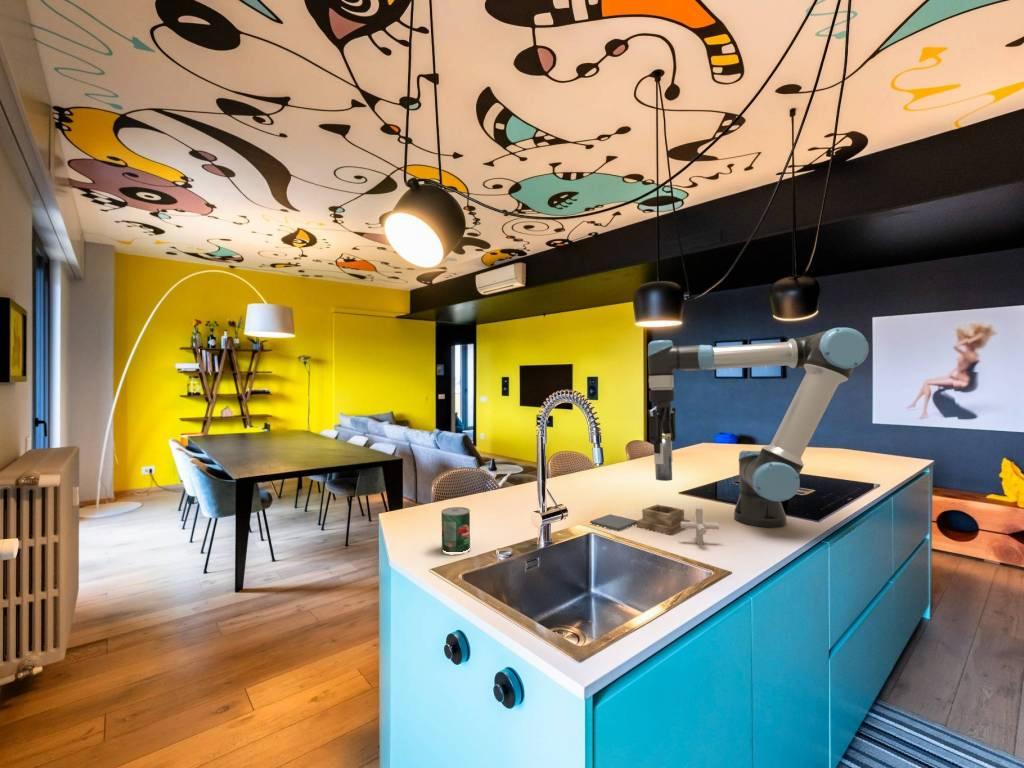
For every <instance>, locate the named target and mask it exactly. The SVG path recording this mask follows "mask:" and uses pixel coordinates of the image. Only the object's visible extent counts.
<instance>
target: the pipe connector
mask: <svg viewBox="0 0 1024 768" xmlns="http://www.w3.org/2000/svg"><path fill="white" fill-rule="evenodd" d="M703 509H704V508H703V507H695V517H694V518H693V519H692V521H690V522H680V526H681V528H687V529H695V544H696V545H701V544H702V545H704V535H706V534H707V530H715V531H718V530H720V526H719V523H718V522H704V520H703V519H704V516H703V515H704V514H703V511H704V510H703Z"/></svg>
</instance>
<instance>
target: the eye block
mask: <svg viewBox="0 0 1024 768" xmlns="http://www.w3.org/2000/svg"><path fill="white" fill-rule="evenodd" d="M641 512H642V518H640V519H638V520H637V521H636V525H635V526H637V527H636V528H638V527H641V528H640V529H642V528H645V529H644V530H646V529H649V530H648V531H651V530H653V531H652V532H655V531H657V532H656V533H659V532H660V533H659V534H663V533H665V534H664V535H667V534H668V536H671V535H672V536H674V535H677V534H678V533H681V532H683V531H685V530H687V529H686V528H681V526H680V522H691V520H690V519H685V509H682V508H678V507H672V506H667V505H662V504H655V505H652V506H649V507H647V508H646V507H645V508H643V509H642V511H641ZM684 529H685V530H684ZM682 530H683V531H682ZM673 534H674V535H673Z"/></svg>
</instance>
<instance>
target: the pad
mask: <svg viewBox="0 0 1024 768" xmlns="http://www.w3.org/2000/svg"><path fill="white" fill-rule="evenodd" d="M636 521H637V520H635V519H632V518H628V517H623V516H620V515H619V516H618V515H614V514H611V513H609V514H607V515H603V516H601V517H599V518H598V517H597V518H595V519H591V520H590V521H589V524H590V523H592V524H595V525H594V526H596V525H599V526H598V527H600V526H602V527H601V528H604V527H606V528H605V529H608V528H609V529H608V530H612V529H613V531H616V530H617V531H616V532H620V530H621V531H623V529H624V530H626V529H628V528H627V527H629V528H631V527H633V526H632V525H634V526H636V525H635V524H636ZM592 524H591V525H592ZM630 526H631V527H630ZM625 528H626V529H625Z"/></svg>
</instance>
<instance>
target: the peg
mask: <svg viewBox="0 0 1024 768" xmlns="http://www.w3.org/2000/svg"><path fill="white" fill-rule="evenodd" d="M661 443H663V462H664V464H655V463H654V467H655V468H654V470H655V480H656V481H663V482H667V481H669V482H670V481H672V480H673V466H672V465H673V455H672V456H671V433H663V432H662V440H661Z"/></svg>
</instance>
